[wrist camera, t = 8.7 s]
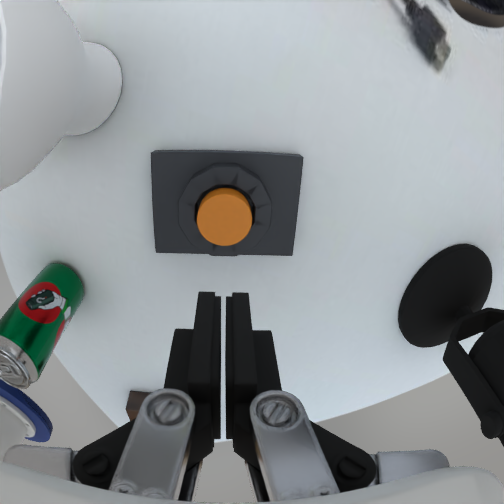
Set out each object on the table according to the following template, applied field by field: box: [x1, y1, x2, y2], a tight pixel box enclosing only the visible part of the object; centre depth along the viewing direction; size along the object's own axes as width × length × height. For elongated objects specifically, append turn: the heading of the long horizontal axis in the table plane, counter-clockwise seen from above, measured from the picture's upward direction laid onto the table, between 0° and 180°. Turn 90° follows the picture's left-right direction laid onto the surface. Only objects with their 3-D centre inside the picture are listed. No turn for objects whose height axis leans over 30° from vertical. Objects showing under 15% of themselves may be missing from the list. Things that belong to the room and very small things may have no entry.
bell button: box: [197, 188, 252, 246], centre depth 21 cm, size 4×4×2 cm
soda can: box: [0, 263, 84, 389], centre depth 21 cm, size 5×5×12 cm
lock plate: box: [126, 391, 151, 421], centre depth 34 cm, size 9×7×3 cm
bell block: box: [151, 150, 303, 256], centre depth 23 cm, size 11×8×3 cm
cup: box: [0, 0, 122, 191], centre depth 12 cm, size 11×11×15 cm
